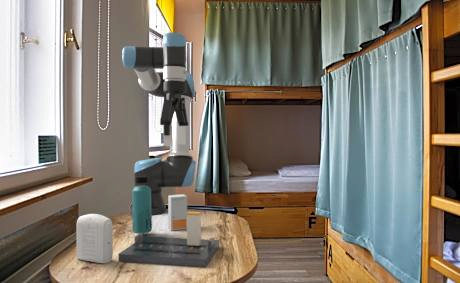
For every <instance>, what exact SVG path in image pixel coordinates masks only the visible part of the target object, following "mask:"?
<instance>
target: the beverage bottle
mask: <svg viewBox="0 0 460 283" xmlns="http://www.w3.org/2000/svg"><path fill="white" fill-rule="evenodd" d="M147 182H148V179H147V176H137V177H136V178H135V177H134V184H135V183H147ZM131 193H132V194H131V195H132V196H131V197H132V198H131V199H132V202H131V205H132V204H133V208H132V213H131V215H132V219H131V220H132V233H134V234H138V235H139V234H148V233H150V232H152V229H153V215H152V210H151V188H150V187H148V186H136V187H135V186H134V187H133V189H132V190H131Z"/></svg>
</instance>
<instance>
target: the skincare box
mask: <svg viewBox="0 0 460 283" xmlns="http://www.w3.org/2000/svg"><path fill="white" fill-rule="evenodd" d="M167 197H168V198H167V200H168V201H167V202H168V203H167V207H168V208H167V210H168V212H167V216H168V217H167V218H168V219H167V220H168V221H167V224H168V225H167V228H168V229H169V230H170V231H171V232H172V231H179V230H180V231H181V230H187V213H188V196H187V195H186V194H183V193H182V194H170V195H168V196H167Z"/></svg>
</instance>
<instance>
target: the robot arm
mask: <svg viewBox="0 0 460 283" xmlns="http://www.w3.org/2000/svg"><path fill="white" fill-rule="evenodd" d="M186 40H187V39H186V36H185V34H183V33H179V32H168V33H165V34H164V35H163V37H162V46H160V47H159V46H134V45H133V46H132V45H131V46H124V47H123V48H122V53H121V57H122V65H123V67H124V68H125V69H132V70H134V72H135V74H136V75H137V77H138V84H139V86H140V88H141V89H142V90H143V91H144V92H146V93H147V94H149V95H151V96H155V97H158V98H163V104H162V109H161V115H160V120H159V125H160V126H163V127H162V129H163V133H162V134H163V136H162V138H163V140H162V142H163V147H169V154H167V156H166V160H162V158H161V157H155V158H148V159H141V160H138V161H136V162H135V164H134V170H133V174H134V179H135V178H136V177H137V176H147V179H148V182H147V183H135V182H134V188H135V187H136V186H148V187H150V188H151V210H152V216H154V215H159V214H163V213H165V212H166V210H167V206H166V202H165V200H164V195H163V192H162V188H187V187H191V186H193V184H194V181H195V180H194V179H195V171H196V164H197V161H196V160H194V159H193V158H194V157H193V156H192V154H190V104H191V103H192V102H193V99H194V98H195V96H196V90H195V82H194V81H195V80H194V75H193V74H191V73H190V72H188V70H187V41H186ZM161 69H162V71H156V70H161ZM132 208H133V204H132V203H131V205H130V213H131V214H132Z"/></svg>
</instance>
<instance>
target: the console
mask: <svg viewBox="0 0 460 283" xmlns="http://www.w3.org/2000/svg"><path fill="white" fill-rule="evenodd" d="M219 248H220V240H219V239H218V240H217V239H215V237H210V238H209V239H203V238H201V244H200V245H199V246H196V245H187V237H186V238H183V237H163V236H149V235H148V236H146V235H143V234H138V235H136V236H134V243H132V244H131V245H129V246H128V247H126V248H125V249H124V250H122V251H120V252H119V253H118V254H117V255H118V262H123V263H140V264H150V263H151V264H154V265H168V266H181V267H195V268H207V266H208V264H209V263H210V261H212V258H213V257H214V255H215V254H216V252H217V250H219Z"/></svg>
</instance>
